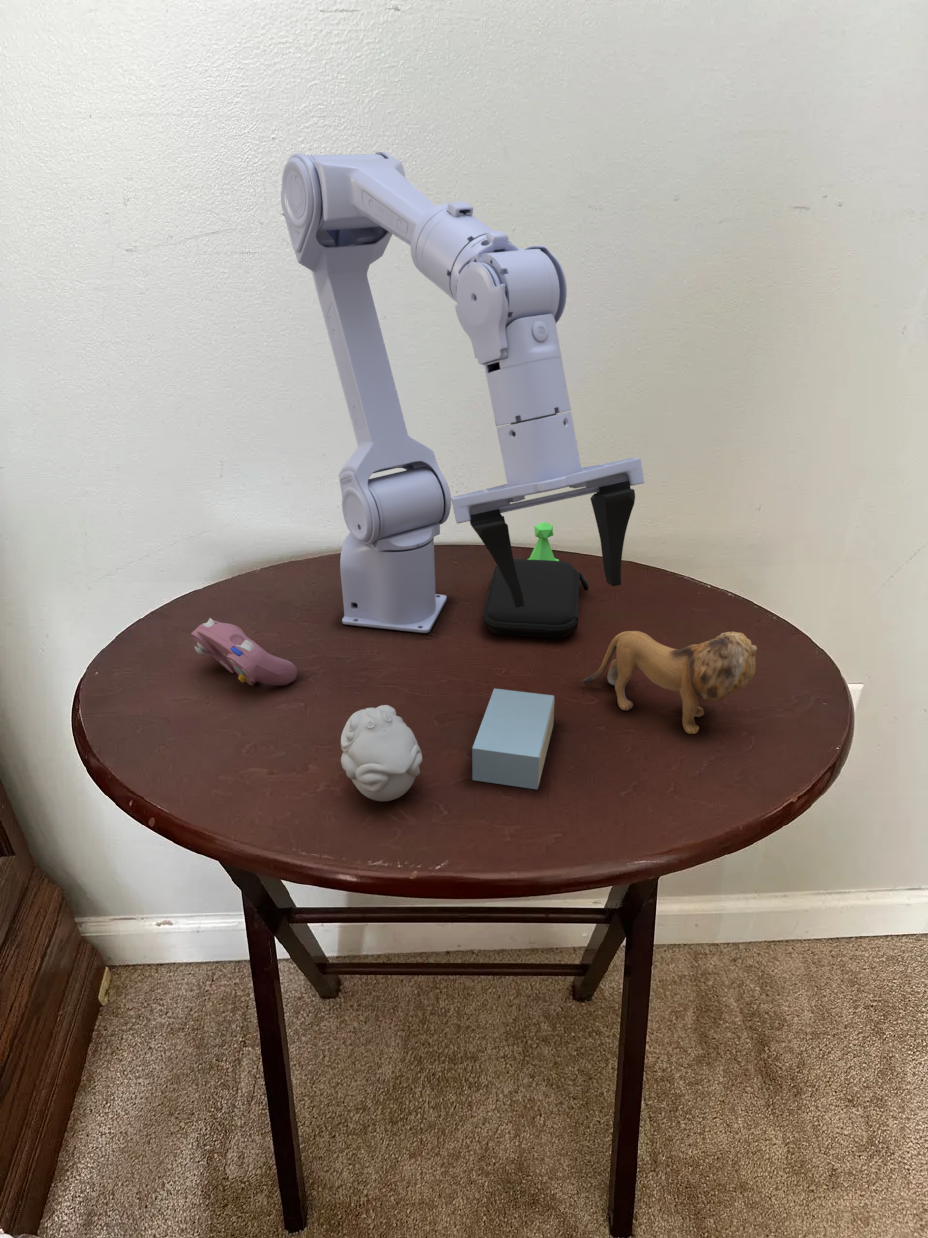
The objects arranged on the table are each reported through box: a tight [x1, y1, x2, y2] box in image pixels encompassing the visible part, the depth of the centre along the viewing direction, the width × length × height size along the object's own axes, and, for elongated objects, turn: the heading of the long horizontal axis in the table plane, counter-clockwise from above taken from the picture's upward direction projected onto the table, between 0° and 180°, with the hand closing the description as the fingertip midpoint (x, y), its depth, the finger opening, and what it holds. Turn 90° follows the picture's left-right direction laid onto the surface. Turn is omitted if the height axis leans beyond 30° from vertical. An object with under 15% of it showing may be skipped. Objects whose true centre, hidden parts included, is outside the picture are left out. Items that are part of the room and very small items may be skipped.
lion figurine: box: [581, 630, 758, 735], centre depth 73 cm, size 15×5×9 cm, turn 62°
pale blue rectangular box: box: [471, 688, 555, 790], centre depth 69 cm, size 5×8×3 cm, turn 167°
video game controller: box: [190, 617, 298, 687], centre depth 79 cm, size 10×5×7 cm, turn 47°
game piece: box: [528, 521, 560, 561], centre depth 99 cm, size 4×4×6 cm
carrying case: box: [482, 558, 589, 639], centre depth 91 cm, size 11×3×15 cm
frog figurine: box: [340, 704, 423, 802], centre depth 64 cm, size 6×7×7 cm
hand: (566, 594), depth 67 cm, fingers open, 7 cm apart
